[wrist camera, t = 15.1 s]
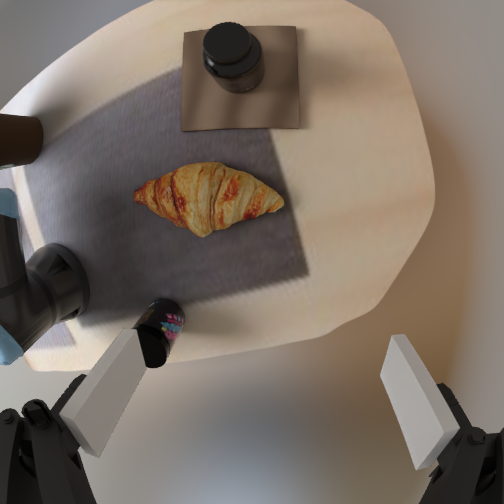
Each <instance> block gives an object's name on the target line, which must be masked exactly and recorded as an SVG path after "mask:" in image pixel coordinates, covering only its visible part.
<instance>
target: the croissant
mask: <svg viewBox="0 0 504 504" xmlns="http://www.w3.org/2000/svg"><path fill="white" fill-rule="evenodd" d="M133 196H134V200H135V201H136V203H137V204H142V205H147V206H148V208H149V209H150V210H151V211H153V212H154V213H155V214H157V215H159V216H161V217H162V218H163V217H164V218H166V219H168V220H171V222H173V223H174V224H175V225H176V226H178V227H183V228H187V229H190V230H191V231H192V232H193V233H194V234H196V235H197V236H199V237H205V236H207V235H209V234H210V233H211V232H212V231H213V230H221V229H227V228H228V227H230V226H231V224H234V223H236V222H238V221H241V220H248V219H254V218H256V217H258V216H259V215H261V214H264V213H265V212H275V211H276V210H278V209H279V208H282V207H283V206H284V200H283V198H282V197H281V196H280V195H279V194H278V193H277V192H276V191H274V189H272V188H270V187H268V186H267V185H265V184H264V183H263V182H261V181H260V180H257V179H256V178H254V177H253V176H252V175H251V174H248V173H246V172H244V171H237V170H235V169H232V168H228V167H226V166H225V165H224V164H223V163H220V162H202V163H194V164H188V165H185V166H182V167H180V168H178V169H176V170H175V171H173V172H169V173H167V174H165V175H164V176H162V177H161V178H159V179H153V180H149V181H148V182H146V183H145V184H144V185H143V186H141V187H140V188H139V189H137V190H135V191H134V193H133Z"/></svg>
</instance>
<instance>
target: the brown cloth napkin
mask: <svg viewBox="0 0 504 504" xmlns="http://www.w3.org/2000/svg"><path fill="white" fill-rule="evenodd" d="M243 27H244V28H246V29H247V30H248V31H250V32H251V33H253V34H254V35H255V36H256V37H257V38H258V39H259V41H260V43H261V45H262V48H263V56H264V66H265V74H264V78H263V80H262V82H261V83H260V84H259V85H258V86H257V87H256V88H255V89H253V90H252V91H250V92H247V93H242V94H235V93H230V92H228V91H226V90H224V89H223V88H221V87H220V86H219V85H218V84H217V82H216V81H215V80H214V79H213V77H212V76H211V75H210V74H209V72H208V71H207V70H206V69H205V67H204V65H203V63H202V59H201V52H202V48H203V39H204V36H205V35H206V32H208V31H209V29H207V30H199V31H192V32H185V33H184V43H183V64H182V101H181V131H182V132H191V131H204V130H221V129H252V128H282V129H299V84H298V59H297V40H296V26H243Z"/></svg>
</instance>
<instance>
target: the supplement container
mask: <svg viewBox="0 0 504 504" xmlns="http://www.w3.org/2000/svg"><path fill="white" fill-rule="evenodd" d="M184 323H185V317H184V313H183V311H182V309H181V308H180V307H179V306H178V305H177V304H176V303H175V302H173V301H171V300H168V299H158V300H155V301H154V302H152V303H151V304H150V306H149V307H148V308H147V310H146V311H145V312H144V313H143V315H142V316H141V317H140V319H139V320H138V321H137V323H136V324H135V325H134V326H133V328H131V329H135V330H137V334H138V338H139V342H140V346H141V350H142V354H143V358H144V361H145V365H146V367H148V368H158V367H161V366H162V365H164V364H165V362H166V360H167V358H168V356H169V354H170V352H171V350H172V348H173V346H174V344H175V342H176V340H177V338H178V336H179V334H180V332H181V330H182V328H183V326H184Z"/></svg>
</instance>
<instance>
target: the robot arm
mask: <svg viewBox="0 0 504 504" xmlns="http://www.w3.org/2000/svg"><path fill="white" fill-rule="evenodd" d="M20 220H21V218H20V216H19V211H18V202H17V196H16V193H15V192H14V191H13V190H12V189H10V188H0V364H1V365H10V364H11V363H13V362H14V361H15V360H16V359H18V358H19V357H21V356H23V354H24V353H25V352H26V351H27V350H28V349H29V348H30V347H31V346H32V345H33V344H34V343H35V342H36V341H37V340H38V339H39V338H40V337H41V336H42V335H43V334H44V333H46V332H47V331H48V330H49V329H50V328H51V327H52V326H53V325H55V324H58V323H61V322H64V321H68V320H71V319H74V318H76V317H77V316H78V315H79V314H81V313H82V312H83V311H84V310H85V308H86V307H87V305H88V302H89V285H88V280H87V277H86V274H85V272H84V270H83V268H82V266H81V264H80V263H79V261H78V260H77V258H76V257H75V256H74V255H73V254H72V253H71V252H70V251H69V250H68V249H66V248H65V247H63V246H61V245H58V244H48V245H45V246H43V247H41V248H39V249H38V250H37V251H36V252H35V253H34V254H33V255H32V256H31V258H30V259H29V260H28V261H27V263H26V264H25V259H24V252H23V245H22V237H21V228H20ZM145 371H146V365H145V361H144V358H143V354H142V350H141V346H140V342H139V338H138V334H137V330H135V329H127V328H124V329H123V330H122V331H121V333H120V334H119V335H118V336H117V338H116V339H115V340H114V341H113V343H112V344H111V345H110V346H109V348H108V349H107V350H106V352H105V353H104V354H103V355H102V357H101V358H100V359H99V361H98V362H97V363H96V364H95V366H94V367H93V368H92V370H91V371H90V372H89V374H88V375H85V374H81V375H80V376H78V377H77V378H75V379H74V380H73V381H72V383H71V384H70V385H69V388H67V389H66V390H65V392H64V393H63V394H62V395H61V397H60V398H59V399H58V401H57V402H56V403H55V405H54V406H53V407H52V409H51V410H49V408H48V407H47V405H46V403H45V402H44V401H42V400H39V399H34V400H31V401H28V402H27V403H26V404H25V405H24V406H23V408H22V412H21V413H22V414H23V416H24V417H25V418H23V417H20V415H19V414H18V412H17V411H16V410H15V409H11V408H9V409H5V410H3V411H2V412H1V413H0V504H97V503H96V501H95V498H94V496H93V493H92V490H91V488H90V485H89V482H88V479H87V476H86V473H85V470H84V467H83V464H82V461H81V457H80V454H79V452H78V451H77V450H78V448H79V447H80V446H81V447H82V448H83V450H84V452H85V453H87V454H90V455H92V456H95V457H98V458H99V457H100V456H101V454H102V451H103V450H104V448H105V446H106V444H107V442H108V440H109V438H110V436H111V434H112V432H113V430H114V428H115V427H116V425H117V423H118V421H119V419H120V417H121V415H122V413H123V412H124V410H125V408H126V406H127V404H128V402H129V400H130V398H131V397H132V395H133V393H134V391H135V389H136V387H137V385H138V384H139V382H140V380H141V378H142V377H143V375H144V373H145ZM380 376H381V379H382V381H383V383H384V386H385V389H386V391H387V393H388V396H389V398H390V401H391V403H392V406H393V408H394V411H395V413H396V416H397V419H398V421H399V424H400V427H401V429H402V432H403V435H404V438H405V440H406V443H407V446H408V449H409V452H410V454H411V457H412V460H413V463H414V466H415V469H416V470H419V469H422V468H426V467H429V466H431V465H432V464H433V462H434V461H435V460H436V459H437V460H438V463H439V465H438V466H437V467H436V468H435V470H434V471H433V472H432V473H431V474H430V475H429V477H431V476H432V475H433V476H432V478H431V481H430V483H429V485H428V487H427V489H426V491H425V493H424V495H423V497H422V499H421V501H420V503H419V504H504V428H503V429H502V430H501V432H500V433H492V434H486V433H485V432H484V431H483V430H482V429H480V428H478V427H472V425H471V423H470V422H469V420H468V418H467V416H466V415H465V413H464V411H463V409H462V408H461V406H460V405H459V402H458V401H457V399H455V396H454V394H453V393H452V391H451V389H450V388H448V387H447V386H446V385H445V384H443V383H441V384H435V382H434V380H433V379H432V377H431V375H430V374H429V372H428V370H427V369H426V367H425V366H424V364H423V362H422V361H421V359H420V357H419V356H418V354H417V353H416V351H415V349H414V348H413V346H412V345H411V343H410V342H409V340H408V339H407V337H406V336H405V334H399V335H392V336H391V340H390V344H389V347H388V351H387V354H386V357H385V361H384V364H383V367H382V371H381V374H380Z"/></svg>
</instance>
